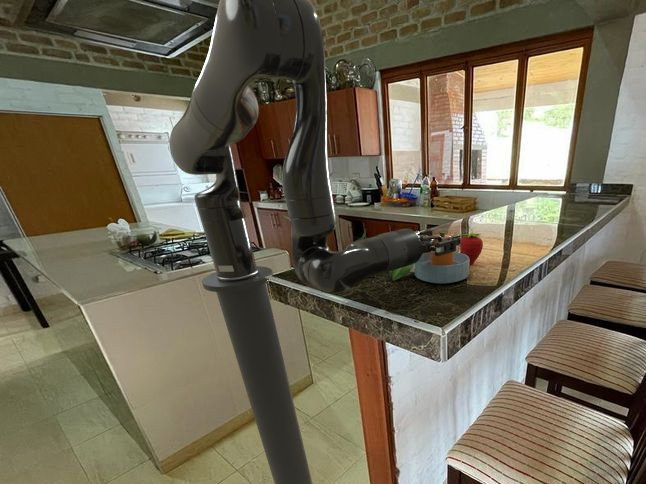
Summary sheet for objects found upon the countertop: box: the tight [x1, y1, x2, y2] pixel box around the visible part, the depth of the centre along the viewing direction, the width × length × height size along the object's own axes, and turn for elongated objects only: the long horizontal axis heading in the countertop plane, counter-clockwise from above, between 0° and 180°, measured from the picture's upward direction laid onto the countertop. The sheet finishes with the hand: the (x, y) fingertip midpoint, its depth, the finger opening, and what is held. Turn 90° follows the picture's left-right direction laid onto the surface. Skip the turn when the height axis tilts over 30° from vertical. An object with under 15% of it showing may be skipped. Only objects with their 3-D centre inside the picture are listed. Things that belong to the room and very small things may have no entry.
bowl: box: [413, 251, 470, 285], centre depth 80 cm, size 13×13×4 cm
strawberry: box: [459, 226, 484, 266], centre depth 87 cm, size 6×8×10 cm
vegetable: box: [431, 231, 453, 266], centre depth 79 cm, size 5×5×10 cm
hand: (444, 236), depth 78 cm, fingers open, 8 cm apart
